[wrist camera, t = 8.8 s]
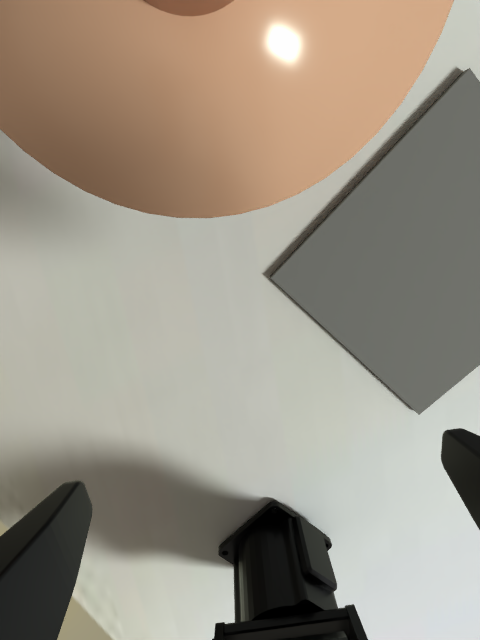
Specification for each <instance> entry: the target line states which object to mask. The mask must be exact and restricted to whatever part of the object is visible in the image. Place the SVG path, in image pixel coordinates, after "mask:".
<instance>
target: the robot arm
mask: <svg viewBox="0 0 480 640" xmlns="http://www.w3.org/2000/svg"><path fill="white" fill-rule="evenodd" d="M441 460H442V464H443V467H444V469H445V470H446V472H447V474H448V476H449V477H450V479H451V481H452V483H453V484H454V486H455V488H456V490H457V491H458V493H459V495H460V497H461V499H462V500H463V502H464V504H465V506H466V507H467V509H468V511H469V513H470V514H471V516H472V518H473V520H474V521H475V523H476V525H477V526H478V528H479V530H480V436H478V435H476V434H474V433H471V432H469V431H467V430H465V429H461V428H459V429H451V430H446V431H445V432H444V433H443V437H442V451H441ZM274 508H276V509H274ZM91 517H92V504H91V501H90V499H89V496H88V493H87V490H86V487H85V485H84V483H83V482H82V481H72V482H66V483H64V484H62V485H61V486H60V487H59V488H57V489H56V490H55V491H54V492H53V493H51V494H50V495H49V496H48V497H47V498H46V499H44V500H43V501H42V502H41V503H40V504H38V505H37V506H36V507H35V508H34V509H32V510H31V511H30V512H29V513H28V514H27V515H25V516H24V517H23V518H22V519H21V520H19V521H18V522H17V523H16V524H15V525H13V526H12V527H11V528H10V529H9V530H7V531H6V532H5V533H4V534H3V535H2V536H0V640H57V638H58V634H59V632H60V629H61V626H62V623H63V620H64V617H65V614H66V611H67V608H68V605H69V602H70V599H71V596H72V593H73V590H74V587H75V583H76V580H77V576H78V572H79V568H80V564H81V559H82V555H83V551H84V547H85V542H86V538H87V534H88V530H89V526H90V521H91ZM331 547H332V544H331V541H330V538H329V537H327V536H326V535H324V534H323V533H322V532H321V531H320V530H319V529H317V528H316V527H314V526H313V525H312V524H310V523H309V522H307V521H306V520H304V519H303V518H302V517H300V516H297V515H296V514H294V513H293V512H292V511H290V510H289V509H287V508H286V507H284V506H283V505H282V504H280V503H279V502H276V501H273V502H270V503H269V504H268V505H267V506H265V507H264V508H263V509H262V510H261V511H260V512H258V513H257V514H256V515H255V516H254V517H253V518H251V519H250V520H249V521H248V522H247V523H246V524H244V525H243V526H242V527H241V528H240V529H239V530H237V531H236V532H235V533H234V534H233V535H232V536H230V537H229V538H228V539H227V540H226V541H224V542H223V543H222V544H221V545H220V546H219V556H220V557H222V558H224V559H225V560H227V561H229V562H230V563H232V564H233V565H234V599H235V623H228V624H225V623H224V622H222V623H216V625H215V636H214V639H212V640H368V639H367V636H366V634H365V631H364V629H363V626H362V624H361V621H360V619H359V616H358V614H357V611H356V608H355V606H354V604H353V605H346V606H345V608H338V607H337V603H336V599H335V596H334V591H335V590H336V589H337V582H336V579H335V576H334V572H333V569H332V565H331V562H330V558H329V555H328V552H327V551H328V550H329V549H330V548H331Z"/></svg>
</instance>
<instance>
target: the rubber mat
mask: <svg viewBox="0 0 480 640" xmlns="http://www.w3.org/2000/svg"><path fill="white" fill-rule="evenodd" d="M270 278H271V279H272V280H273V281H274V282H275V283H276V284H277V285H278V286H279V287H281V288H282V289H283V290H284V291H285V292H286V293H287V294H288V295H289V296H290V297H291V298H293V299H294V300H295V301H296V302H297V303H298V304H299V305H300V306H301V307H302V308H303V309H304V310H306V311H307V312H308V313H309V314H310V315H311V316H312V317H313V318H314V319H315V320H316V321H318V322H319V323H320V324H321V325H322V326H323V327H324V328H325V329H326V330H327V331H328V332H329V333H331V334H332V335H333V336H334V337H335V338H336V339H337V340H338V341H339V342H340V343H341V344H343V345H344V346H345V347H346V348H347V349H348V350H349V351H350V352H351V353H352V354H353V355H355V356H356V357H357V358H358V359H359V360H360V361H361V362H362V363H363V364H364V365H365V366H366V367H368V368H369V369H370V370H371V371H372V372H373V373H374V374H375V375H376V376H377V377H378V378H380V379H381V380H382V381H383V382H384V383H385V384H386V385H387V386H388V387H389V388H390V389H391V390H393V391H394V392H395V393H396V394H397V395H398V396H399V397H400V398H401V399H402V400H403V401H405V402H406V403H407V404H408V405H409V406H410V407H411V408H412V409H413V410H414V411H415V412H416V413H418V414H421V413H422V412H423V411H424V410H425V409H427V408H428V407H429V406H430V405H431V404H433V403H434V402H435V401H436V400H438V399H439V398H440V397H441V396H442V395H444V394H445V393H446V392H447V391H448V390H450V389H451V388H452V387H453V386H455V385H456V384H457V383H458V382H459V381H461V380H462V379H463V378H464V377H465V376H467V375H468V374H469V373H470V372H472V371H473V370H474V369H475V368H476V367H478V366H479V365H480V82H479V80H478V79H477V78H476V76H475V75H474V73H473V72H472V71H471V69H470V68H469V69H467V70H465V71H464V72H463V73H462V74H461V75H460V76H459V77H458V78H457V79H456V80H455V81H454V83H453V84H452V85H451V86H450V87H449V88H448V89H447V90H446V91H445V92H444V93H443V94H442V95H441V96H440V97H439V98H438V99H437V101H436V102H435V103H434V104H433V105H432V106H431V107H430V108H429V109H428V110H427V111H426V112H425V113H424V114H423V115H422V116H421V117H420V119H419V120H418V121H417V122H416V123H415V124H414V125H413V126H412V127H411V128H410V129H409V130H408V131H407V132H406V133H405V134H404V136H403V137H402V138H401V139H400V140H399V141H398V142H397V143H396V144H395V145H394V146H393V147H392V148H391V149H390V150H389V151H388V152H387V154H386V155H385V156H384V157H383V158H382V159H381V160H380V161H379V162H378V163H377V164H376V165H375V166H374V167H373V168H372V169H371V170H370V172H369V173H368V174H367V175H366V176H365V177H364V178H363V179H362V180H361V181H360V182H359V183H358V184H357V185H356V186H355V187H354V188H353V190H352V191H351V192H350V193H349V194H348V195H347V196H346V197H345V198H344V199H343V200H342V201H341V202H340V203H339V204H338V205H337V206H336V208H335V209H334V210H333V211H332V212H331V213H330V214H329V215H328V216H327V217H326V218H325V219H324V220H323V221H322V222H321V223H320V224H319V226H318V227H317V228H316V229H315V230H314V231H313V232H312V233H311V234H310V235H309V236H308V237H307V238H306V239H305V240H304V241H303V242H302V244H301V245H300V246H299V247H298V248H297V249H296V250H295V251H294V252H293V253H292V254H291V255H290V256H289V257H288V258H287V259H286V260H285V262H284V263H283V264H282V265H281V266H280V267H279V268H278V269H277V270H276V271H275V272H274V273H273V274H272V275H271V276H270Z"/></svg>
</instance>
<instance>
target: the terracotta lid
mask: <svg viewBox="0 0 480 640" xmlns="http://www.w3.org/2000/svg"><path fill="white" fill-rule="evenodd" d="M453 1H454V0H0V129H1V130H2V131H3V132H4V133H5V134H6V135H7V136H8V137H9V138H10V139H12V140H13V141H14V142H15V143H16V144H17V145H18V146H19V147H20V148H21V149H22V150H23V151H25V152H26V153H27V154H29V155H30V156H31V157H33V158H34V159H35V160H37V161H38V162H39V163H41V164H42V165H44V166H45V167H46V168H48V169H49V170H50V171H52V172H53V173H54V174H56V175H58V176H60V177H61V178H63V179H65V180H67V181H68V182H70V183H72V184H73V185H75V186H77V187H79V188H80V189H82V190H84V191H86V192H88V193H91V194H93V195H95V196H98V197H100V198H102V199H105V200H107V201H109V202H112V203H114V204H117V205H120V206H124V207H127V208H131V209H134V210H138V211H141V212H145V213H150V214H157V215H163V216H170V217H177V218H213V217H221V216H229V215H236V214H242V213H245V212H249V211H253V210H257V209H260V208H264V207H268V206H271V205H273V204H275V203H278V202H280V201H282V200H285V199H287V198H290V197H292V196H294V195H297V194H299V193H300V192H302V191H304V190H306V189H307V188H309V187H311V186H313V185H314V184H316V183H318V182H319V181H321V180H323V179H325V178H326V177H327V176H329V175H330V174H331V173H333V172H334V171H335V170H337V169H338V168H339V167H340V166H342V165H343V164H344V163H346V162H347V161H348V160H350V159H351V158H352V157H353V156H354V155H355V154H356V153H357V152H358V151H359V150H360V149H361V148H362V147H363V146H364V145H366V144H367V143H368V142H369V141H370V140H371V139H372V138H373V137H374V136H375V135H376V134H377V133H378V132H379V130H380V129H381V128H382V127H383V125H384V124H385V123H386V122H387V120H388V119H389V118H390V117H391V115H392V114H393V113H394V112H395V111H396V109H397V108H398V107H399V106H400V104H401V103H402V101H403V100H404V98H405V97H406V95H407V94H408V92H409V91H410V89H411V87H412V86H413V84H414V83H415V81H416V80H417V78H418V77H419V75H420V73H421V72H422V70H423V68H424V66H425V64H426V62H427V60H428V58H429V56H430V55H431V53H432V51H433V49H434V47H435V45H436V43H437V41H438V39H439V37H440V35H441V33H442V30H443V27H444V25H445V22H446V20H447V17H448V14H449V12H450V9H451V7H452V4H453Z"/></svg>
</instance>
